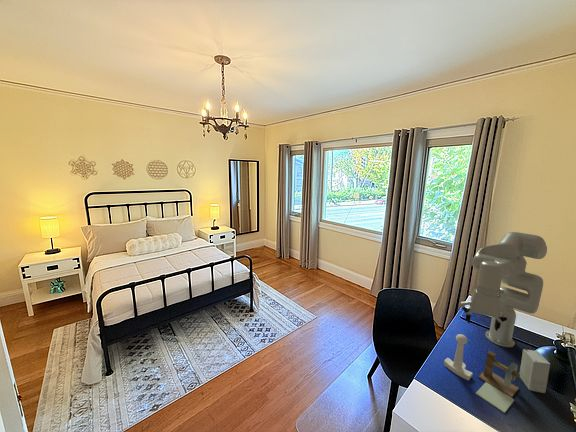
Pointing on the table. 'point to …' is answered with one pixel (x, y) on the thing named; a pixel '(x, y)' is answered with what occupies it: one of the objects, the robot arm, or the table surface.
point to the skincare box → (534, 370)
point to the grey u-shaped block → (510, 374)
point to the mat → (495, 397)
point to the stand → (495, 379)
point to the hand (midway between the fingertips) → (481, 325)
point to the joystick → (459, 359)
